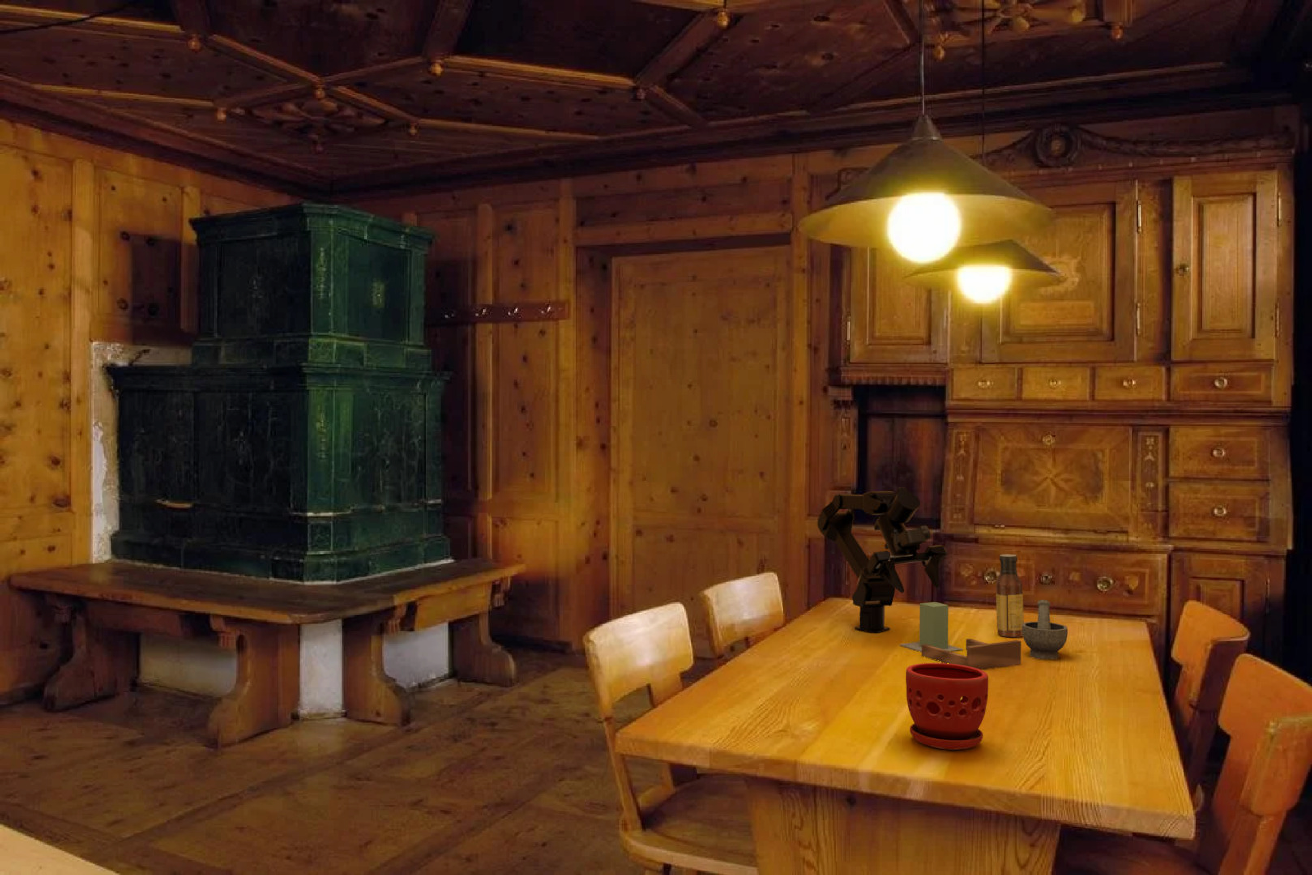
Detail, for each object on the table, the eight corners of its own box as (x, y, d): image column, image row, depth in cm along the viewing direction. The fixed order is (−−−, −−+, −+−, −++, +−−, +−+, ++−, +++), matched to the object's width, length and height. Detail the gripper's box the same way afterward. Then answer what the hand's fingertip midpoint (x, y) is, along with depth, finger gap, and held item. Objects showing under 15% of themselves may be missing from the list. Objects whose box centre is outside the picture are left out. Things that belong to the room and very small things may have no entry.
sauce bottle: (1026, 634, 246) (1027, 554, 246) (1020, 639, 241) (1021, 557, 240) (998, 631, 249) (999, 552, 249) (992, 636, 244) (993, 555, 244)
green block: (919, 646, 232) (919, 603, 232) (934, 644, 234) (934, 601, 234) (932, 650, 228) (933, 606, 228) (947, 648, 230) (948, 605, 230)
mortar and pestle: (1068, 663, 218) (1068, 608, 218) (1022, 659, 221) (1023, 605, 220) (1064, 651, 228) (1065, 599, 228) (1021, 648, 231) (1021, 597, 231)
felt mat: (899, 645, 234) (899, 644, 234) (932, 641, 238) (932, 640, 238) (929, 654, 225) (929, 653, 225) (962, 650, 229) (962, 648, 229)
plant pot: (1003, 751, 160) (1004, 677, 160) (928, 757, 157) (928, 681, 157) (962, 726, 173) (962, 658, 172) (891, 731, 170) (892, 661, 170)
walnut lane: (921, 655, 224) (921, 633, 224) (969, 649, 230) (970, 627, 230) (970, 671, 210) (971, 647, 210) (1020, 664, 217) (1021, 641, 217)
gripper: (871, 518, 232) (896, 575, 223) (942, 511, 237) (969, 566, 228) (856, 545, 241) (880, 601, 231) (925, 538, 246) (951, 592, 236)
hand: (920, 589), depth 231 cm, fingers open, 9 cm apart
